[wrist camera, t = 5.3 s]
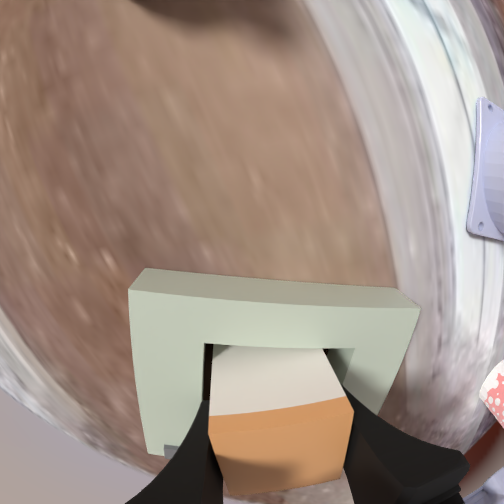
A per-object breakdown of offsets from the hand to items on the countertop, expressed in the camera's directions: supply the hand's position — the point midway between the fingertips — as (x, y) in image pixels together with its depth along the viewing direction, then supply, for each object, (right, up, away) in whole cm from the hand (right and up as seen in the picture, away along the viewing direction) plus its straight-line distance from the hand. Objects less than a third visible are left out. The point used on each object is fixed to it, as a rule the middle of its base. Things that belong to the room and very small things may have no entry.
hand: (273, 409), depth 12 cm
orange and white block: (0, +1, +2) cm, 2 cm away
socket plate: (0, +1, +3) cm, 3 cm away
